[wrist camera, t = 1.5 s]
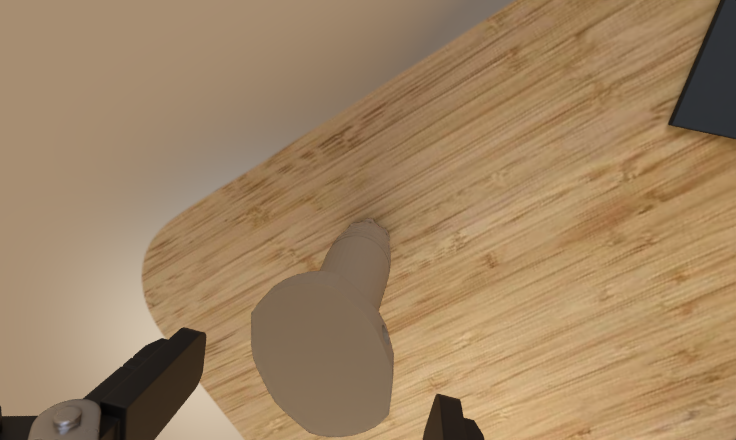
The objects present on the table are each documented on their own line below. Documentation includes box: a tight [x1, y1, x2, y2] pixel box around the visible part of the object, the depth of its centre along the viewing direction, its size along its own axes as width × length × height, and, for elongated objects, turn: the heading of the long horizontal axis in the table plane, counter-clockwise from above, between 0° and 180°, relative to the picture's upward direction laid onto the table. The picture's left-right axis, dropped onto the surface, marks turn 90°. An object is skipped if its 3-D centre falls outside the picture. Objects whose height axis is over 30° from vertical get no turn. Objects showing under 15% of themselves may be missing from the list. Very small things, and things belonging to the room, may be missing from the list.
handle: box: [251, 218, 394, 437], centre depth 21 cm, size 5×6×15 cm
